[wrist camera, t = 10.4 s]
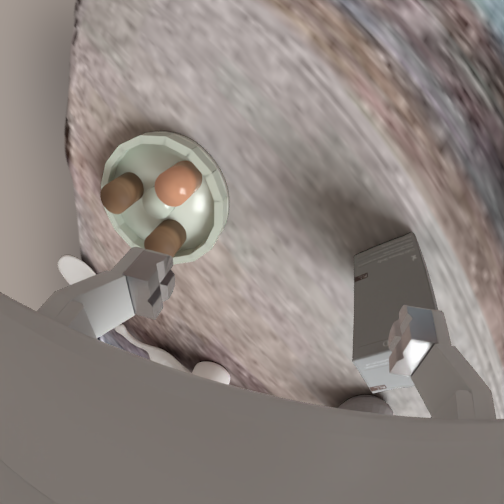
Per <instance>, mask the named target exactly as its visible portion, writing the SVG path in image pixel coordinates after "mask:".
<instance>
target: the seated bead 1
mask: <svg viewBox="0 0 504 504" xmlns="http://www.w3.org/2000/svg"><path fill="white" fill-rule="evenodd" d="M143 193H144V186H143V183H142V181H141V179H140V178H139V177H138V176H137V175H136V174H134V173H131V172H126V173H124V174H122V175H120V176H119V177H117V178H116V179H114V180H112V181H111V182H109V183H108V184H106V185H105V186H104V187H103V188H102V190H101V200H102V203H103V205H104V207H105V208H106V209H107V210H108V211H109V212H111V213H113V214H121V213H123V212H124V211H125V210H126V209H128V208H129V207H130V206H131V205H133V204H134V203H135V202H136V201H138V200H139V199H140V198H141V197H142V196H143Z"/></svg>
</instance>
